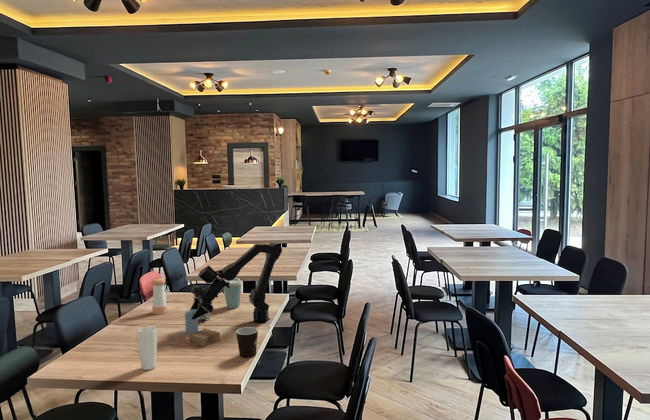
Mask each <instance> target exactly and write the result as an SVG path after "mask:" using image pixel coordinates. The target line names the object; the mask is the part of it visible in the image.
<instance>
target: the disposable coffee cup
mask: <svg viewBox="0 0 650 420" xmlns="http://www.w3.org/2000/svg"><path fill="white" fill-rule="evenodd" d="M224 280H225V281H226V282H229V283H230V284H229V286H230V288H227V287H226V286H225V287H224V288H223V289H222V290H223V293H224V298H225V302H226V303H225V304H226V306H227V307H226V308H228V309H238V308H239V307H240V305H241V293H242V291H241V290H242V283H243V282H242V280H241V279H240V278H238V277H235V278H234V279H233V280H231V281H228V280H226V279H224Z"/></svg>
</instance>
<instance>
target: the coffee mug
mask: <svg viewBox="0 0 650 420" xmlns="http://www.w3.org/2000/svg"><path fill="white" fill-rule="evenodd" d="M235 331H236V332H235V334H236V340H237V347H238V353H239V357H240V358H242V359H252V358H254V357H256V355H257V346H258V335H259V329H258V328H257V327H253V326H246V327H239V329H237V330H235Z"/></svg>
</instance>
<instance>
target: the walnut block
mask: <svg viewBox="0 0 650 420" xmlns="http://www.w3.org/2000/svg"><path fill="white" fill-rule="evenodd" d="M188 337H189V338H188V339H189V340H188V341H189V344H191V345H193V346H198V347H201V348H206V347H208V346H210V345H212V344H215V343H218V342H220V341H221V339H220V338H221V336H220V331H215V330H211V329H207V328H204V329H201V330H198V332H196V333H193V334H190V335H188Z"/></svg>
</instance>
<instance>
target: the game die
mask: <svg viewBox="0 0 650 420" xmlns="http://www.w3.org/2000/svg"><path fill="white" fill-rule="evenodd" d="M210 316H211V313H210V312H209V313H207V314H204V315H202V316H200V317H198V322H200V321H203V320H209V321H211V320H210Z"/></svg>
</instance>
